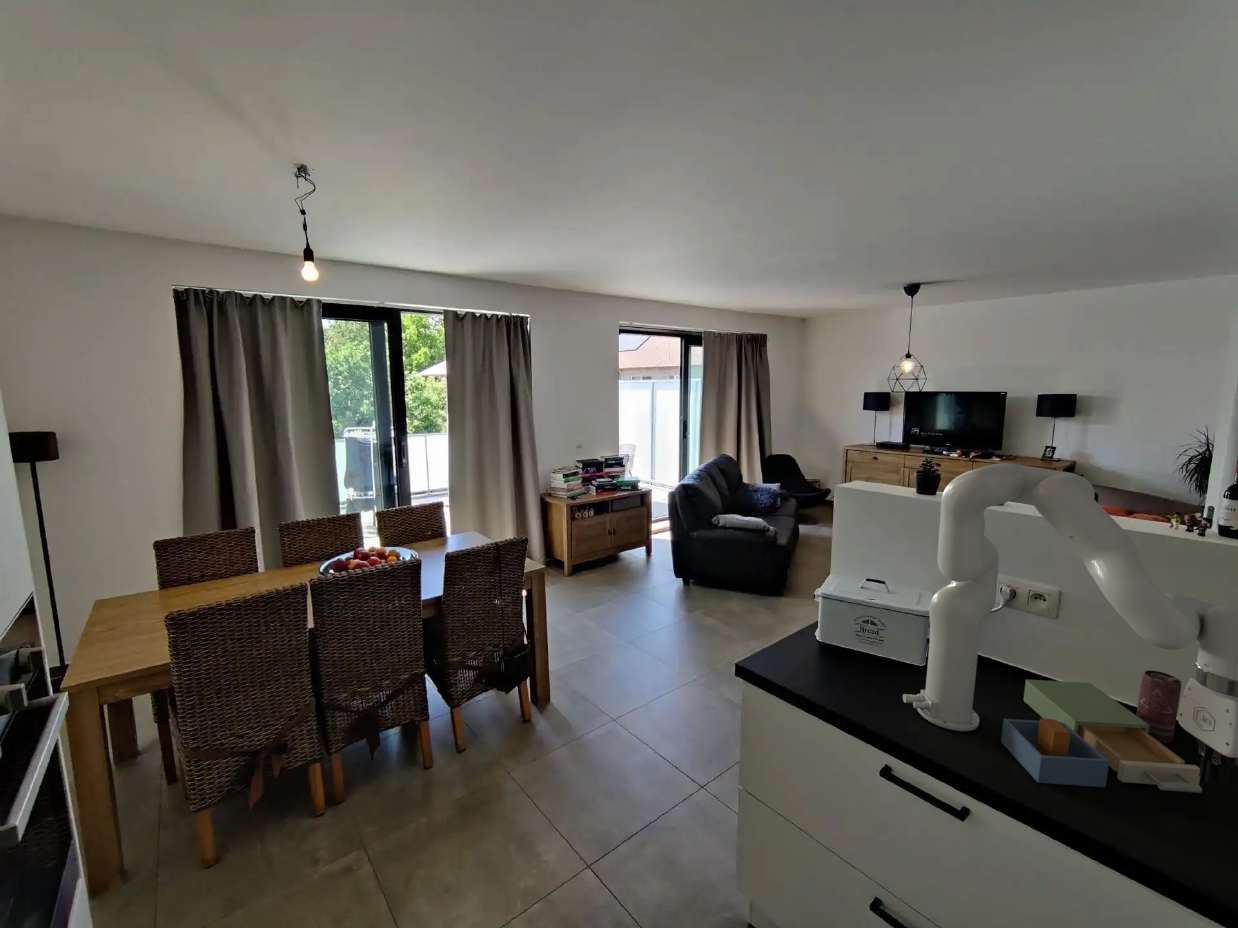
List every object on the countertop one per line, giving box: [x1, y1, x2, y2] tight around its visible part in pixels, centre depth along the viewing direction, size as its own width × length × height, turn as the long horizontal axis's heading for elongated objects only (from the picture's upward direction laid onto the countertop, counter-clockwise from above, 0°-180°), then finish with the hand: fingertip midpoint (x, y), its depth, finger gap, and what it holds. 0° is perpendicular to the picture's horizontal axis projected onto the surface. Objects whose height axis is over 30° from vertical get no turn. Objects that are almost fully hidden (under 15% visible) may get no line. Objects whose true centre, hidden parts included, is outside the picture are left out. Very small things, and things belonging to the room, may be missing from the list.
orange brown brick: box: [1036, 718, 1070, 757], centre depth 110 cm, size 3×4×8 cm
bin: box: [1000, 718, 1110, 788], centre depth 110 cm, size 12×12×6 cm
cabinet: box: [1023, 679, 1150, 734], centre depth 123 cm, size 17×15×6 cm
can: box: [1135, 669, 1182, 744], centre depth 118 cm, size 6×6×14 cm
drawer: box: [1078, 725, 1203, 794], centre depth 109 cm, size 20×13×4 cm
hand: (1213, 780), depth 93 cm, fingers closed
